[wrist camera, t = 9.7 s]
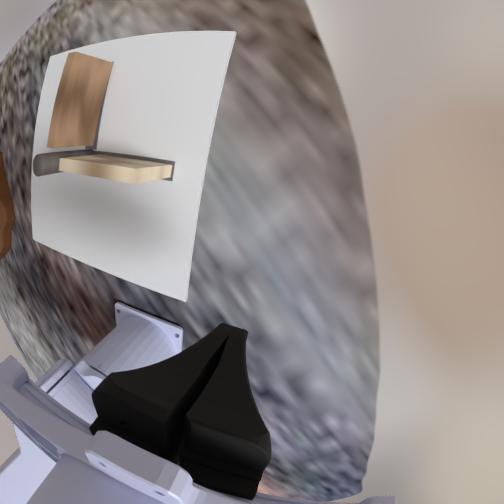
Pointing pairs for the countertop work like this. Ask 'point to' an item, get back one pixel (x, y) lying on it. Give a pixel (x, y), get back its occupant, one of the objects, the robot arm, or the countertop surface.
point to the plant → (5, 213)
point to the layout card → (137, 147)
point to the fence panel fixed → (100, 166)
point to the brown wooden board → (78, 101)
